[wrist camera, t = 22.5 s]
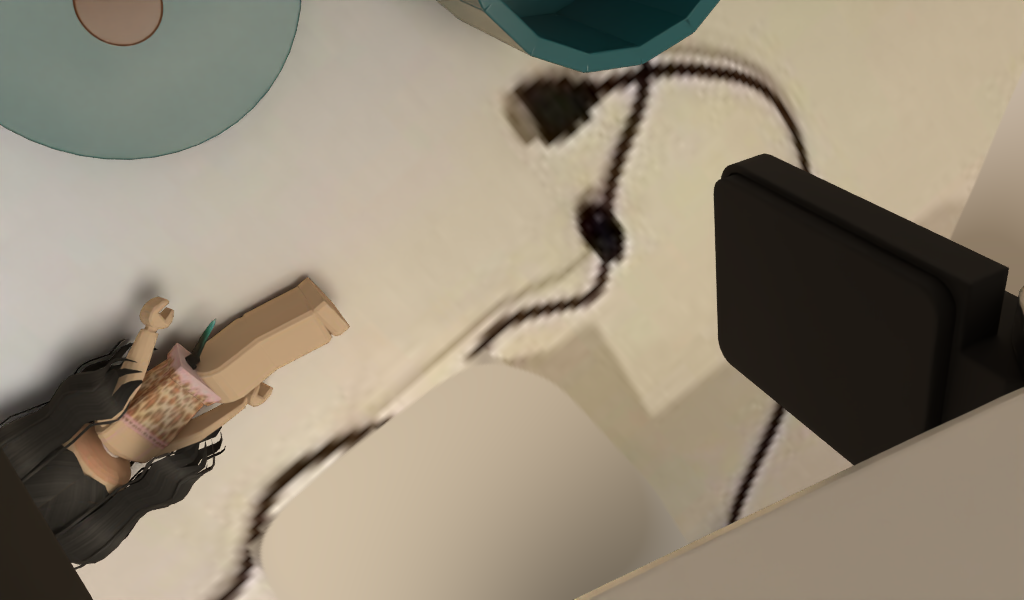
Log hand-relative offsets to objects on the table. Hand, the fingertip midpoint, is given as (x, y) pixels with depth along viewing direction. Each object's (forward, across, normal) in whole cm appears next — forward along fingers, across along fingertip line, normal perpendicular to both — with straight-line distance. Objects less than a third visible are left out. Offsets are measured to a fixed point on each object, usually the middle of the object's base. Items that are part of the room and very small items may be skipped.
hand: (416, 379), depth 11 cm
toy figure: (+26, +6, +14) cm, 30 cm away
